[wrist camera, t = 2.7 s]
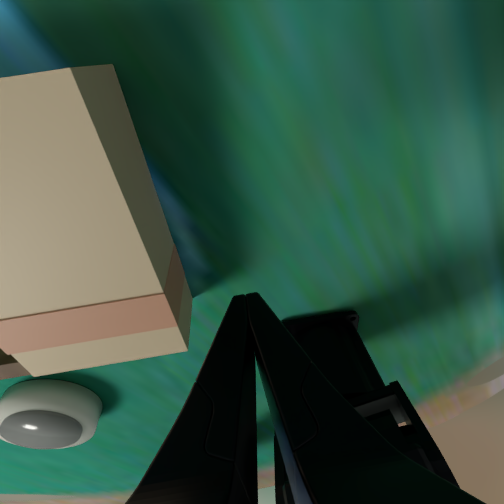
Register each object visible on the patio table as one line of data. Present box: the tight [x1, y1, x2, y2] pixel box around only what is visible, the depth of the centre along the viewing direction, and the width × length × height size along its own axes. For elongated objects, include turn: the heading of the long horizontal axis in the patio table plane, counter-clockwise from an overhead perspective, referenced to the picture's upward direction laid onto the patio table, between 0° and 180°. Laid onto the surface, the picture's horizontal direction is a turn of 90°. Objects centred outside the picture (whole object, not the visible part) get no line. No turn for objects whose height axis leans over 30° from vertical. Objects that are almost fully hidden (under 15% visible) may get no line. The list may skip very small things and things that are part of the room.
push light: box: [0, 379, 103, 449], centre depth 25 cm, size 8×8×2 cm
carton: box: [0, 64, 193, 377], centre depth 14 cm, size 9×14×5 cm, turn 6°
